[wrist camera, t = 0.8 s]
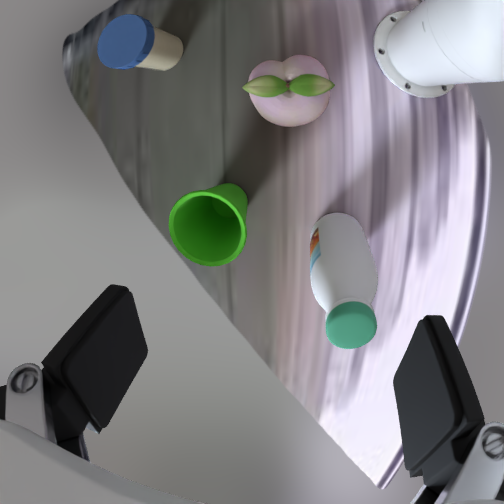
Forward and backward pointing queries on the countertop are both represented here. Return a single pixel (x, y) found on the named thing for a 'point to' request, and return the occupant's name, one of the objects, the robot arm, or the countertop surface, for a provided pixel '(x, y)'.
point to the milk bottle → (344, 279)
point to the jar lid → (126, 41)
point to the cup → (210, 224)
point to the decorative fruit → (290, 90)
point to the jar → (163, 51)
